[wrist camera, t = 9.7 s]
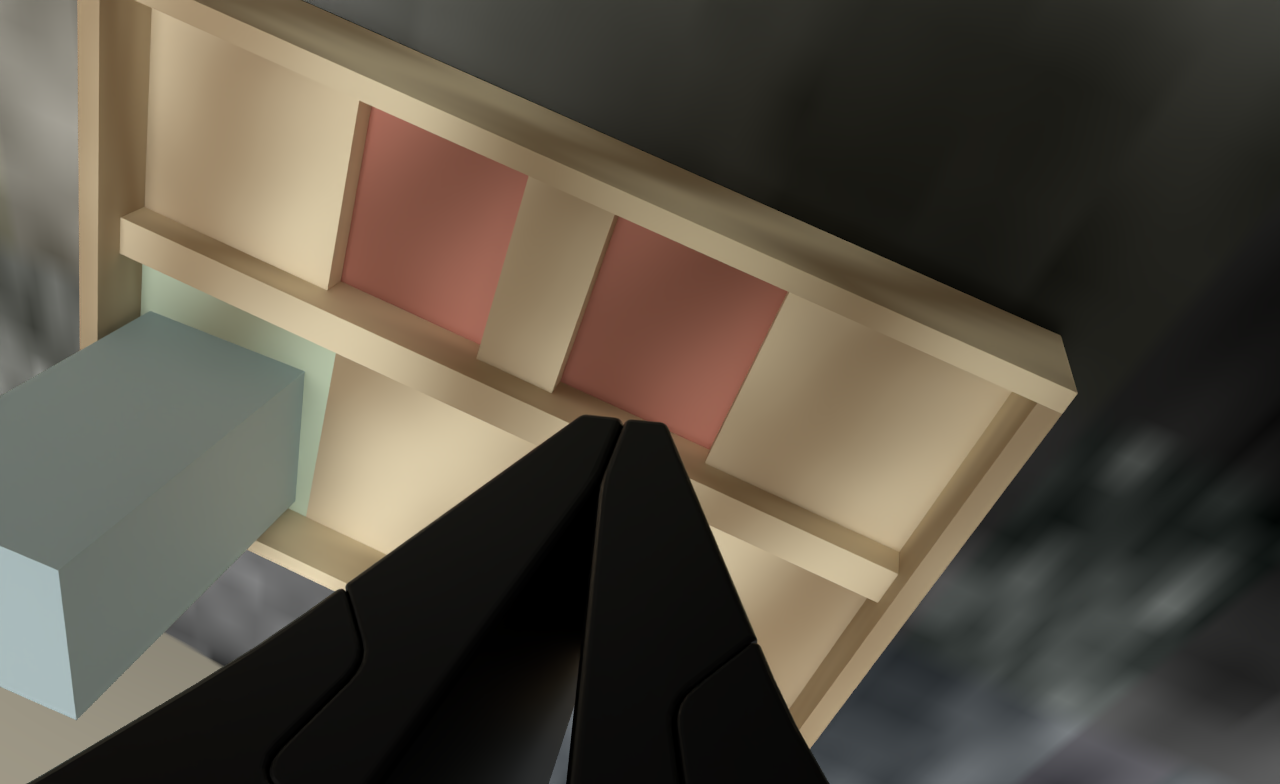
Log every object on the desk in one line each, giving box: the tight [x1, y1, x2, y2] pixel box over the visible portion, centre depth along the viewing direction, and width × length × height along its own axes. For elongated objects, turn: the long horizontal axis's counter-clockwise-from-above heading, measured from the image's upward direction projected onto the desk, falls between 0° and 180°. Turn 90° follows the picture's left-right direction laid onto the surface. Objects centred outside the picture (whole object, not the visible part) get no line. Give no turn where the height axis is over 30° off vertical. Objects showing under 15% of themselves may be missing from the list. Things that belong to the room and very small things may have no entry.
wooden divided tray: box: [77, 0, 1078, 749], centre depth 22 cm, size 21×14×2 cm, turn 70°
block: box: [0, 311, 305, 720], centre depth 22 cm, size 4×4×8 cm
